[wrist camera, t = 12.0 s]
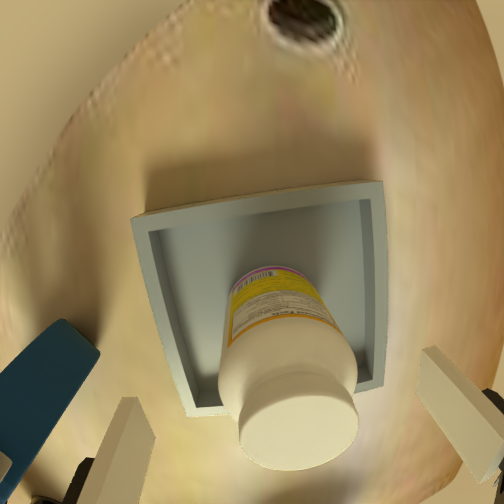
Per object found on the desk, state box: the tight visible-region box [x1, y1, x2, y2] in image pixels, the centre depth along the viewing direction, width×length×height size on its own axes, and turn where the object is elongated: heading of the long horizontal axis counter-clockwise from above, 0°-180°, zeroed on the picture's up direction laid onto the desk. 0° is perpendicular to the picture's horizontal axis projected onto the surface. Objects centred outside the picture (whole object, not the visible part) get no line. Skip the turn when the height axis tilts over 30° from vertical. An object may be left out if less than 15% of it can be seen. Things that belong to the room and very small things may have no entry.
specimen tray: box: [130, 180, 388, 417], centre depth 22 cm, size 16×16×3 cm
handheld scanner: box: [0, 319, 100, 504], centre depth 15 cm, size 5×16×20 cm, turn 135°
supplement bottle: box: [218, 266, 359, 471], centre depth 17 cm, size 7×7×13 cm
